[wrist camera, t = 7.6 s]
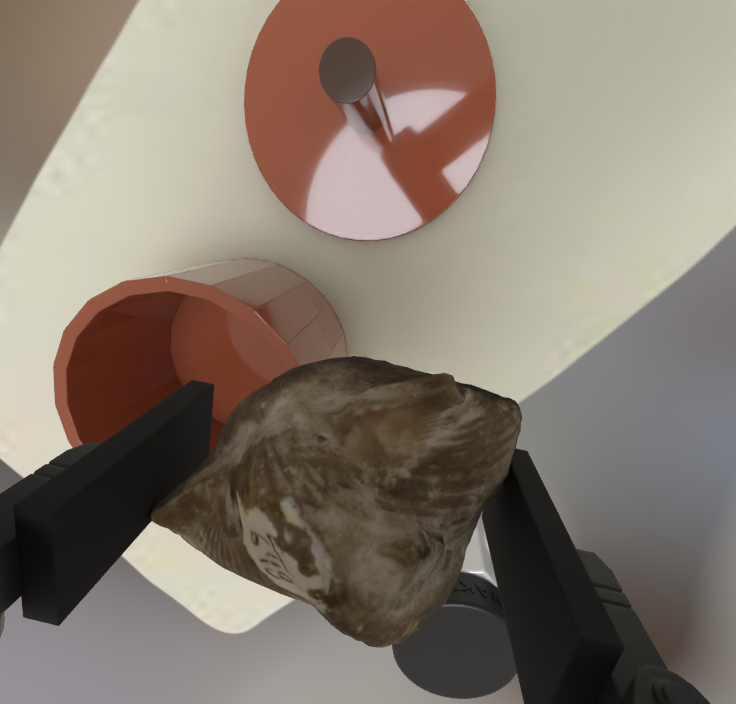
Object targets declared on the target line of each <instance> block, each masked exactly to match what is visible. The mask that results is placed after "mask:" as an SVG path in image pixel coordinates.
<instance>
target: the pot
mask: <svg viewBox="0 0 736 704" xmlns="http://www.w3.org/2000/svg"><path fill="white" fill-rule="evenodd" d="M338 357H347V348H346V341H345V337H344V334H343V330H342V327H341V325H340V322H339V320H338V318H337V316H336V314H335V312H334V311H333V309H332V307H331V306H330V304H329V303H328V301H327V300H326V299H325V298H324V296H323V295H322V294H321V293H320V292H319V291H318V290H317V289H316V288H315V287H314V286H313V285H312V284H311V283H309V282H308V281H307V280H306V279H304V278H303V277H302V276H300V275H298V274H297V273H295V272H293V271H292V270H290V269H287V268H285V267H283V266H280V265H278V264H275V263H271V262H268V261H263V260H256V259H249V258H244V259H235V260H228V261H220V262H214V263H209V264H204V265H199V266H194V267H190V268H185V269H180V270H175V271H170V272H165V273H160V274H156V275H151V276H146V277H141V278H136V279H131V280H126V281H123V282H121V283H119V284H117V285H115V286H113V287H112V288H110V289H108V290H106V291H104V292H102V293H100V294H99V295H97V296H95V297H93V298H91V299H90V300H89V301H87V303H86V304H85V305H84V306H83V308H82V309H81V310H80V311H79V312H78V314H77V315H76V316H75V317H74V319H73V320H72V321H71V322H70V324H69V325H68V326H67V327H66V328H65V330H64V332H63V335H62V338H61V342H60V345H59V348H58V352H57V355H56V358H55V361H54V366H53V371H54V392H55V405H56V408H57V411H58V414H59V416H60V419H61V422H62V425H63V428H64V430H65V433H66V436H67V439H68V441H69V443H70V444H71V446H72V447H73V448H75V447H77V446H80V445H83V444H86V443H88V442H92V443H97V444H102V443H103V442H104V441H106V440H107V439H109V438H110V437H112V436H113V435H114V434H116V433H117V432H119V431H120V430H121V429H123V428H124V427H126V426H127V425H129V424H130V423H131V422H133V421H134V420H136V419H137V418H139V417H140V416H141V415H143V414H144V413H146V412H147V411H148V410H150V409H151V408H153V407H154V406H156V405H157V404H158V403H160V402H161V401H163V400H164V399H166V398H167V397H168V396H170V395H171V394H173V393H174V392H175V391H177V390H178V389H180V388H181V387H183V386H184V385H185V384H187V383H188V382H190V381H191V380H197V381H201V382H206V383H211V384H214V397H213V410H212V424H211V437H210V450H209V455H210V453H211V452H212V450H213V449H214V447H215V446H216V444H217V442H218V437H219V435H220V433H221V430H222V428H223V426H224V425H225V423H226V420H227V419H228V417H229V416H230V414H231V412H232V411H233V410H234V409H235V408H236V406H237V405H238V404H239V403H240V402H241V401H242V400H243V399H244V398H246V397H247V396H248V395H249V394H250V393H252V392H253V391H256V390H258V389H260V388H261V387H263V386H264V385H267V384H269V383H271V381H272V380H273V379H274V378H276V377H278V376H280V375H281V374H283V373H284V372H286V371H288V370H290V369H292V368H295V367H298V366H301V365H304V364H308V363H312V362H317V361H321V360H325V359H329V358H338Z"/></svg>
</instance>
